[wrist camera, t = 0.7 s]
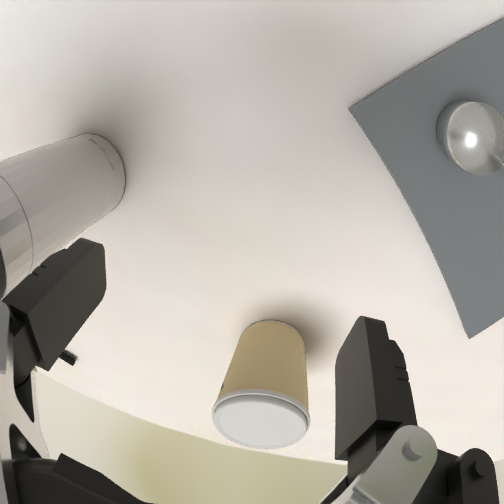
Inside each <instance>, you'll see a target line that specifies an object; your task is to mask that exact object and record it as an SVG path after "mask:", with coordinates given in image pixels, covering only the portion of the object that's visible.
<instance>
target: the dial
mask: <svg viewBox="0 0 504 504" xmlns="http://www.w3.org/2000/svg"><path fill="white" fill-rule="evenodd" d="M437 136H438V142H439V145H440V148H441V150H442V152H443V154H444V155H445V156H446V158H447V159H448V160H449V161H451V162H452V163H453V164H455V165H457V166H459V167H461V168H462V169H464V170H466V171H468V172H470V173H472V174H474V175H478V176H486V175H490V174H492V173H494V172H496V171H497V170H498V169H499V168H500V169H501V170H503V171H504V119H503V117H502V116H501V114H500V113H499V112H498V111H497V110H496V109H495V108H494V107H492V106H490V105H488V104H486V103H481V102H472V101H456V102H454V103H452V104H450V105H449V106H447V107H446V108H445V110H444V111H443V112H442V114H441V116H440V119H439V122H438V127H437Z"/></svg>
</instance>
